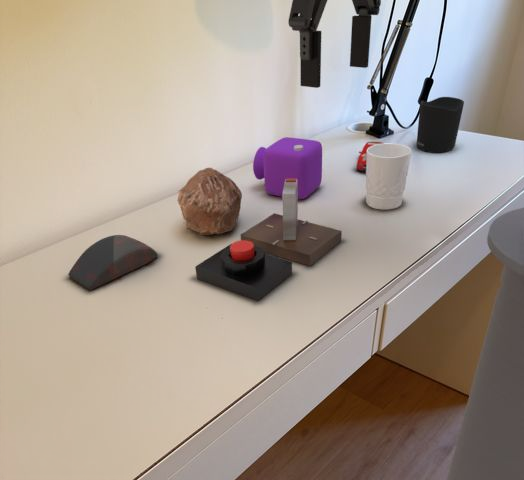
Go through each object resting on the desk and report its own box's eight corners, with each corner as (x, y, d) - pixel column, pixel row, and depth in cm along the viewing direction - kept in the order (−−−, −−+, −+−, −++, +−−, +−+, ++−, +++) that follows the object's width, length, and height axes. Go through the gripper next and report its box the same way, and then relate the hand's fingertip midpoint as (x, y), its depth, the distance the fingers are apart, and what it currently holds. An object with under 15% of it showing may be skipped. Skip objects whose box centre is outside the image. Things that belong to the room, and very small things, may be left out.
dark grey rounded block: (163, 259, 88) (159, 237, 86) (92, 293, 81) (86, 270, 78) (135, 245, 93) (130, 224, 90) (66, 276, 85) (58, 254, 83)
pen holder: (416, 140, 129) (422, 96, 123) (456, 141, 127) (464, 97, 121) (412, 152, 123) (418, 106, 116) (455, 154, 120) (463, 108, 114)
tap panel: (341, 241, 90) (342, 229, 89) (309, 266, 84) (309, 254, 82) (275, 223, 97) (274, 212, 96) (240, 245, 91) (239, 233, 89)
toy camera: (262, 178, 115) (260, 130, 108) (324, 182, 111) (325, 133, 105) (246, 197, 107) (243, 147, 100) (312, 203, 103) (312, 151, 97)
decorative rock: (192, 211, 103) (185, 159, 97) (249, 212, 101) (245, 160, 95) (173, 242, 93) (164, 187, 87) (235, 244, 91) (230, 188, 85)
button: (259, 254, 80) (258, 243, 79) (244, 264, 78) (244, 253, 77) (240, 248, 82) (240, 238, 81) (226, 258, 80) (225, 247, 79)
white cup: (376, 214, 97) (381, 160, 91) (355, 199, 103) (358, 147, 97) (413, 206, 100) (420, 152, 93) (389, 191, 105) (395, 140, 99)
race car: (379, 175, 113) (381, 156, 110) (354, 173, 114) (355, 155, 112) (387, 154, 122) (389, 136, 120) (364, 153, 124) (365, 135, 121)
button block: (292, 274, 82) (292, 251, 80) (257, 301, 77) (256, 277, 74) (232, 255, 88) (230, 233, 86) (196, 278, 83) (193, 256, 80)
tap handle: (295, 240, 87) (295, 192, 81) (283, 240, 87) (282, 192, 82) (297, 224, 91) (297, 177, 86) (286, 224, 91) (285, 177, 86)
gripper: (364, -118, 72) (355, 57, 85) (254, -122, 57) (263, 92, 70) (416, -123, 68) (398, 61, 81) (313, -129, 53) (311, 99, 66)
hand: (335, 76), depth 76 cm, fingers open, 13 cm apart
